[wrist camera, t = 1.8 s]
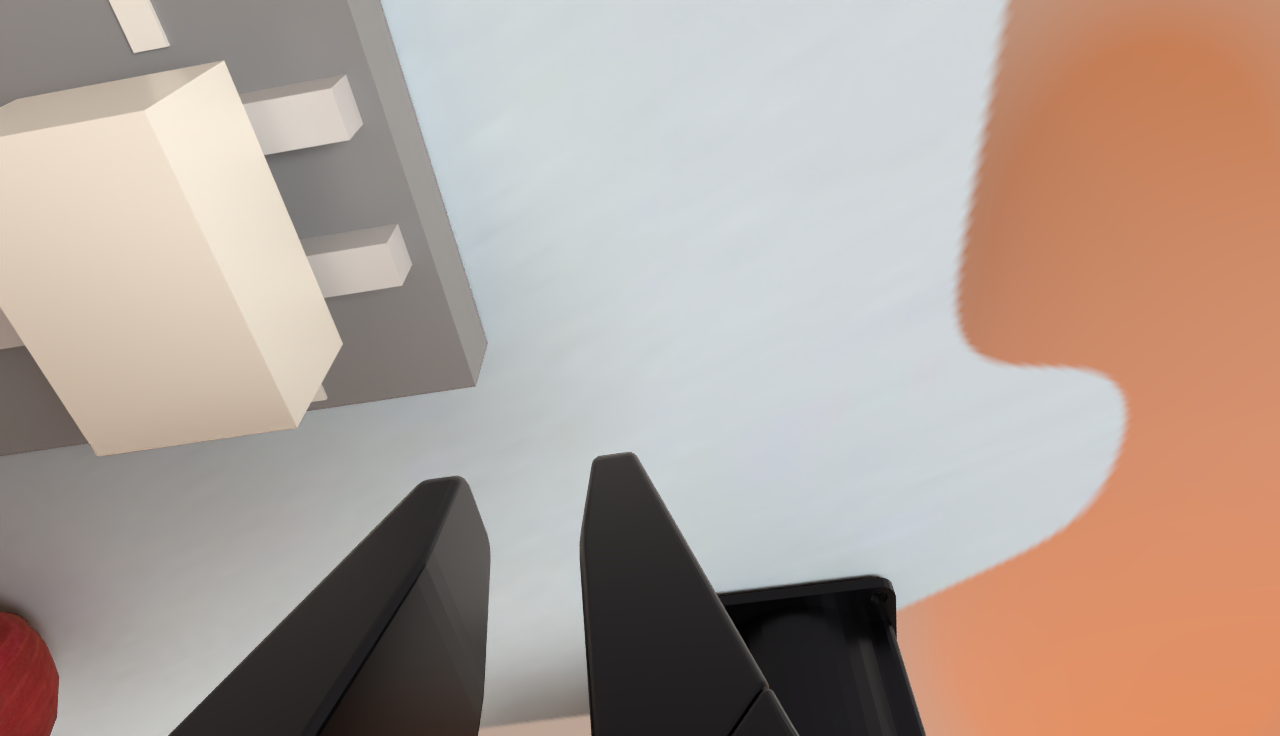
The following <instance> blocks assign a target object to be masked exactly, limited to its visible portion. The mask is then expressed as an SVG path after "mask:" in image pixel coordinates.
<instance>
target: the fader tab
mask: <svg viewBox="0 0 1280 736" xmlns="http://www.w3.org/2000/svg"><path fill="white" fill-rule="evenodd" d="M0 308H1V309H2V311H3V312H4V314H5V315H6V317H7V318H8V320H9V321H10V323H11V324H12V326H13V328H14V329H15V331H16V332H17V334H18V335H19V337H20V338H21V340H22V341H23V343H24V344H25V346H26V348H27V349H28V351H29V352H30V354H31V355H32V357H33V358H34V360H35V361H36V363H37V364H38V366H39V367H40V369H41V371H42V372H43V374H44V375H45V377H46V378H47V380H48V381H49V383H50V384H51V386H52V387H53V389H54V391H55V392H56V394H57V395H58V397H59V398H60V400H61V401H62V403H63V404H64V406H65V407H66V409H67V410H68V412H69V414H70V415H71V417H72V418H73V420H74V421H75V423H76V424H77V426H78V427H79V429H80V430H81V432H82V434H83V435H84V437H85V438H86V440H87V441H88V443H89V444H90V446H91V447H92V449H93V450H94V452H95V453H96V455H97V457H99V456H106V455H113V454H120V453H127V452H134V451H141V450H148V449H155V448H162V447H168V446H175V445H182V444H189V443H196V442H203V441H210V440H217V439H224V438H231V437H238V436H244V435H251V434H258V433H265V432H272V431H279V430H286V429H293V428H297V427H298V426H299V424H300V422H301V420H302V418H303V416H304V414H305V413H306V411H307V409H308V407H309V405H310V403H311V402H312V400H313V398H314V396H315V394H316V392H317V391H318V389H319V387H320V385H321V383H322V381H323V380H324V378H325V376H326V374H327V372H328V370H329V369H330V367H331V365H332V363H333V361H334V359H335V358H336V356H337V354H338V352H339V350H340V348H341V346H342V345H343V343H342V340H341V338H340V336H339V333H338V331H337V328H336V326H335V324H334V321H333V319H332V317H331V314H330V312H329V309H328V307H327V305H326V302H325V300H324V297H323V295H322V293H321V290H320V288H319V285H318V283H317V281H316V278H315V276H314V274H313V271H312V269H311V266H310V264H309V262H308V259H307V257H306V254H305V252H304V250H303V247H302V245H301V243H300V240H299V238H298V235H297V233H296V231H295V228H294V226H293V223H292V221H291V219H290V216H289V214H288V212H287V209H286V207H285V204H284V202H283V200H282V197H281V195H280V192H279V190H278V188H277V185H276V183H275V180H274V178H273V176H272V173H271V171H270V169H269V166H268V164H267V161H266V159H265V157H264V154H263V152H262V149H261V147H260V145H259V142H258V140H257V138H256V135H255V133H254V130H253V128H252V126H251V123H250V121H249V118H248V116H247V114H246V111H245V109H244V107H243V104H242V102H241V99H240V97H239V95H238V92H237V90H236V87H235V85H234V83H233V80H232V78H231V75H230V73H229V71H228V68H227V66H226V64H225V61H224V60H223V61H218V62H212V63H207V64H202V65H196V66H191V67H186V68H180V69H175V70H170V71H164V72H159V73H153V74H148V75H143V76H137V77H132V78H127V79H121V80H116V81H111V82H105V83H100V84H95V85H89V86H84V87H79V88H73V89H68V90H63V91H57V92H52V93H46V94H41V95H36V96H30V97H25V98H20V99H16V100H14V101H12V102H10V103H8V104H6V105H4V106H2V107H0Z"/></svg>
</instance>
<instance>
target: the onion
mask: <svg viewBox="0 0 1280 736" xmlns="http://www.w3.org/2000/svg"><path fill="white" fill-rule="evenodd" d="M58 687H59V675H58V672H57V669H56V667H55V664H54V661H53V658H52V656H51V654H50V652H49V650H48V647H47V645H46V643H45V642H44V641H43V639H42V638H41V637H40V635H39V634H38V633H37V632H36V631H35V630H34V629H33V628H32V627H30V626H29V624H28V623H27V621H26V620H25V619H24V618H22V617H21V616H19V615H16V614H13V613H9V612H0V736H50V734H51V731H52V729H53V726H54V723H55V721H56V718H57V705H58Z"/></svg>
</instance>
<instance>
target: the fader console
mask: <svg viewBox="0 0 1280 736" xmlns="http://www.w3.org/2000/svg"><path fill="white" fill-rule="evenodd" d="M223 60H224V61H225V64H226V66H227V68H228V71H229V73H230V75H231V78H232V80H233V83H234V85H235V87H236V90H237V92H238V95H239V97H240V99H241V102H242V104H243V107H244V109H245V111H246V114H247V116H248V118H249V121H250V123H251V126H252V128H253V130H254V133H255V135H256V138H257V140H258V142H259V145H260V147H261V149H262V152H263V154H264V157H265V159H266V161H267V164H268V166H269V169H270V171H271V173H272V176H273V178H274V180H275V183H276V185H277V188H278V190H279V192H280V195H281V197H282V200H283V202H284V204H285V207H286V209H287V212H288V214H289V216H290V219H291V221H292V223H293V226H294V228H295V231H296V233H297V235H298V238H299V240H300V243H301V245H302V247H303V250H304V252H305V254H306V257H307V259H308V262H309V264H310V266H311V269H312V271H313V274H314V276H315V278H316V281H317V283H318V285H319V288H320V290H321V293H322V295H323V297H324V300H325V302H326V305H327V307H328V309H329V312H330V314H331V317H332V319H333V321H334V324H335V326H336V328H337V331H338V333H339V336H340V338H341V340H342V343H343V345H342V346H341V348H340V350H339V352H338V354H337V356H336V358H335V359H334V361H333V363H332V365H331V367H330V369H329V370H328V372H327V374H326V376H325V378H324V380H323V381H322V383H321V385H320V387H319V389H318V391H317V392H316V394H315V396H314V398H313V400H312V402H311V403H310V405H309V407H308V409H307V411H310V410H317V409H324V408H331V407H338V406H345V405H351V404H358V403H365V402H372V401H379V400H386V399H392V398H399V397H406V396H413V395H420V394H427V393H433V392H440V391H447V390H454V389H461V388H468V387H474V386H476V383H477V380H478V376H479V372H480V369H481V365H482V362H483V358H484V354H485V351H486V347H487V344H488V343H487V340H486V337H485V334H484V330H483V327H482V324H481V321H480V318H479V314H478V311H477V308H476V305H475V302H474V298H473V295H472V292H471V289H470V286H469V283H468V279H467V276H466V273H465V270H464V267H463V263H462V260H461V257H460V254H459V251H458V247H457V244H456V241H455V238H454V235H453V232H452V228H451V225H450V222H449V219H448V216H447V212H446V209H445V206H444V203H443V200H442V196H441V193H440V190H439V187H438V184H437V181H436V177H435V174H434V171H433V168H432V165H431V161H430V158H429V155H428V152H427V149H426V145H425V142H424V139H423V136H422V133H421V129H420V126H419V123H418V120H417V117H416V114H415V110H414V107H413V104H412V101H411V98H410V94H409V91H408V88H407V85H406V82H405V78H404V75H403V72H402V69H401V66H400V63H399V59H398V56H397V53H396V50H395V47H394V43H393V40H392V37H391V34H390V31H389V27H388V24H387V21H386V18H385V15H384V12H383V8H382V5H381V2H380V0H0V107H2V106H4V105H6V104H8V103H10V102H12V101H14V100H16V99H20V98H25V97H30V96H36V95H41V94H46V93H52V92H57V91H63V90H68V89H73V88H79V87H84V86H89V85H95V84H100V83H105V82H111V81H116V80H121V79H127V78H132V77H137V76H143V75H148V74H153V73H159V72H164V71H170V70H175V69H180V68H186V67H191V66H196V65H202V64H207V63H212V62H218V61H223ZM85 443H88V441H87V440H86V438H85V437H84V435H83V434H82V432H81V430H80V429H79V427H78V426H77V424H76V423H75V421H74V420H73V418H72V417H71V415H70V414H69V412H68V410H67V409H66V407H65V406H64V404H63V403H62V401H61V400H60V398H59V397H58V395H57V394H56V392H55V391H54V389H53V387H52V386H51V384H50V383H49V381H48V380H47V378H46V377H45V375H44V374H43V372H42V371H41V369H40V367H39V366H38V364H37V363H36V361H35V360H34V358H33V357H32V355H31V354H30V352H29V351H28V349H27V348H26V346H25V344H24V343H23V341H22V340H21V338H20V337H19V335H18V334H17V332H16V331H15V329H14V328H13V326H12V324H11V323H10V321H9V320H8V318H7V317H6V315H5V314H4V312H3V311H2V309H1V308H0V456H3V455H10V454H17V453H24V452H31V451H37V450H44V449H51V448H58V447H65V446H72V445H78V444H85Z"/></svg>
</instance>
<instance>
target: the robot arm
mask: <svg viewBox="0 0 1280 736" xmlns="http://www.w3.org/2000/svg"><path fill="white" fill-rule="evenodd" d="M580 570H581V585H582V600H583V615H584V630H585V645H586V660H587V675H588V690H589V705H590V720H591V735H592V736H926V734H925V731H924V728H923V724H922V721H921V718H920V715H919V711H918V708H917V705H916V701H915V698H914V695H913V692H912V688H911V685H910V682H909V679H908V675H907V672H906V669H905V666H904V662H903V659H902V656H901V653H900V649H899V646H898V643H897V635H896V633H897V631H896V595H895V592H894V589H893V586H892V583H891V582H890V581H889V580H888V579H885V578H880V577H876V578H867V579H859V580H851V581H842V582H834V583H826V584H817V585H809V586H801V587H793V588H784V589H776V590H768V591H759V592H751V593H743V594H734V595H726V596H717V594H716V592H715V591H714V589H713V587H712V585H711V584H710V582H709V580H708V578H707V577H706V575H705V573H704V572H703V570H702V568H701V566H700V565H699V563H698V561H697V559H696V558H695V556H694V554H693V552H692V551H691V549H690V547H689V546H688V544H687V542H686V540H685V539H684V537H683V535H682V533H681V532H680V530H679V528H678V526H677V525H676V523H675V521H674V520H673V518H672V516H671V514H670V513H669V511H668V509H667V507H666V506H665V504H664V502H663V500H662V499H661V497H660V495H659V494H658V492H657V490H656V488H655V487H654V485H653V483H652V481H651V480H650V478H649V476H648V474H647V473H646V471H645V469H644V468H643V466H642V464H641V462H640V461H639V459H638V457H637V456H636V455H635V454H634V453H632V452H624V453H617V454H610V455H603V456H598V457H597V458H595V459H594V460H593V463H592V466H591V472H590V479H589V485H588V491H587V497H586V503H585V509H584V515H583V521H582V528H581V536H580ZM489 580H490V545H489V540H488V536H487V532H486V530H485V527H484V524H483V522H482V519H481V516H480V513H479V511H478V508H477V505H476V502H475V500H474V497H473V494H472V492H471V489H470V487H469V484H468V483H467V482H466V480H465V479H464V478H462V477H460V476H451V477H444V478H436V479H429V480H425V481H423V482H421V483H420V484H419V485H417V486H416V487H415V488H414V489H413V490H412V491H411V492H410V493H409V494H408V495H407V496H406V497H405V498H404V499H403V500H402V501H401V502H400V503H399V504H398V505H397V506H396V507H395V508H394V509H393V510H392V511H391V512H390V513H389V514H388V515H387V516H386V517H385V518H384V519H383V520H382V521H381V522H380V523H379V524H378V525H377V526H376V527H375V528H374V529H373V530H372V531H371V532H370V533H369V534H368V535H367V536H366V537H365V538H364V539H363V540H362V541H361V542H360V543H359V544H358V545H357V546H356V547H355V548H354V550H353V551H352V552H351V553H350V554H349V555H348V556H347V557H346V558H345V559H344V560H343V561H342V562H341V563H340V564H339V565H338V566H337V567H336V568H335V569H334V570H333V571H332V572H331V573H330V574H329V575H328V576H327V577H326V578H325V579H324V580H323V581H322V582H321V583H320V584H319V585H318V586H317V587H316V588H315V589H314V590H313V591H312V592H311V593H310V594H309V595H308V596H307V597H306V598H305V599H304V600H303V601H302V602H301V603H300V604H299V605H298V606H297V607H296V608H295V609H294V610H293V611H292V612H291V613H290V614H289V615H288V616H287V617H286V618H285V619H284V620H283V621H282V622H281V623H280V624H279V625H278V626H277V627H276V628H275V629H274V630H273V631H272V632H271V633H270V634H269V635H268V636H267V637H266V638H265V639H264V640H263V641H262V642H261V643H260V644H259V645H258V646H257V647H256V648H255V649H254V650H253V651H252V652H251V653H250V654H249V655H248V656H247V657H246V658H245V659H244V660H243V661H242V662H241V663H240V664H239V665H238V666H237V667H236V668H235V669H234V670H233V671H232V672H231V673H230V674H229V675H228V676H227V677H226V678H225V679H224V680H223V681H222V682H221V683H220V684H219V685H218V686H217V687H216V688H215V689H214V690H213V691H212V692H211V693H210V694H209V695H208V696H207V697H206V698H205V699H204V700H203V701H202V702H201V703H200V704H199V705H198V706H197V707H196V708H195V709H194V710H193V711H192V712H191V713H190V714H189V715H188V716H187V717H186V718H185V719H184V720H183V721H182V722H181V723H180V724H179V725H178V726H177V727H176V728H175V729H174V730H173V731H172V732H171V733H170V734H169V735H168V736H478V731H479V725H480V718H481V711H482V704H483V695H484V681H485V663H486V642H487V621H488V601H489ZM879 592H880V593H879ZM876 593H879V594H876Z"/></svg>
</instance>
